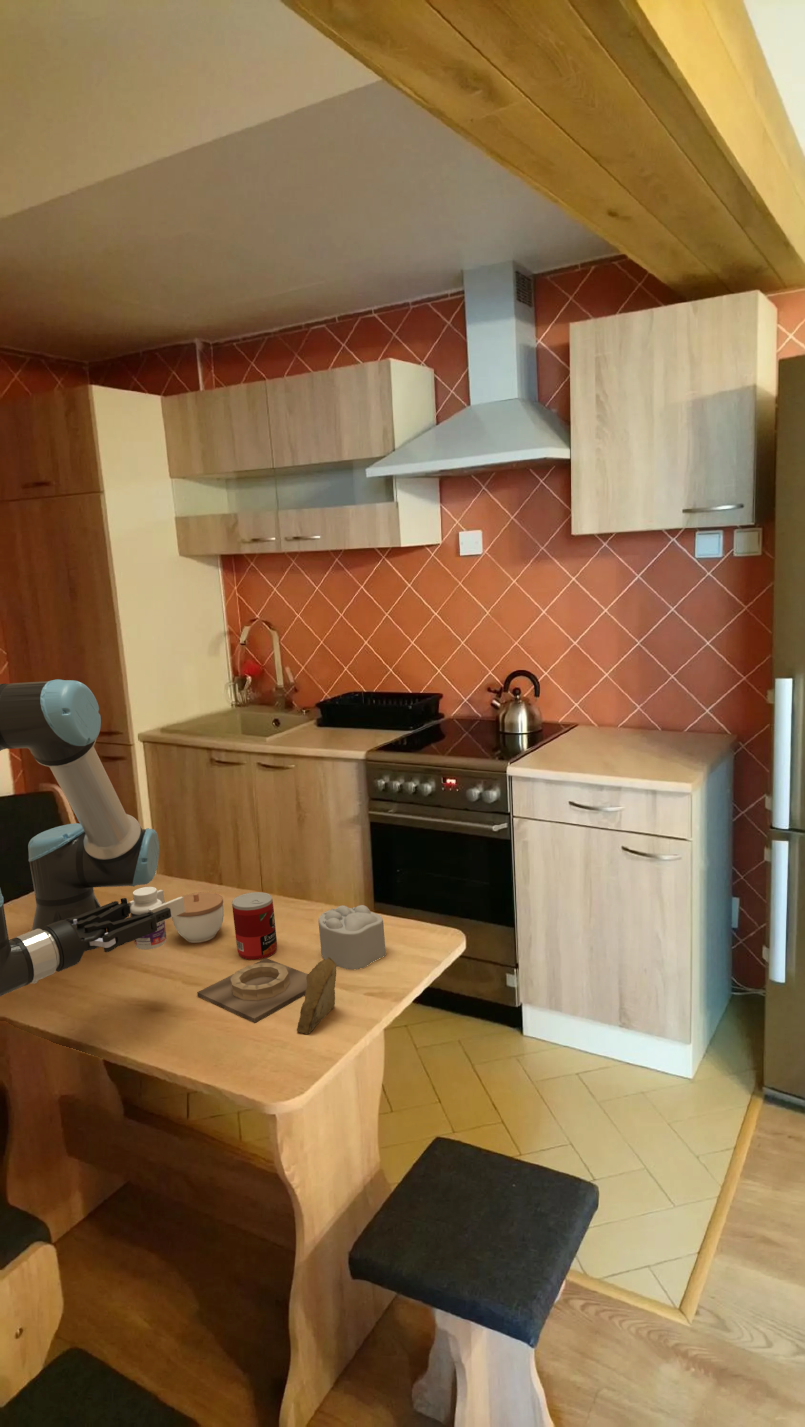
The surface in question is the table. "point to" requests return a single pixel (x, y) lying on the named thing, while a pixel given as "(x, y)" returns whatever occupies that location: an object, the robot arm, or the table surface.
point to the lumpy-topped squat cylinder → (351, 936)
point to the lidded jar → (200, 916)
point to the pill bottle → (143, 902)
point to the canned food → (254, 925)
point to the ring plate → (256, 1006)
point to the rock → (318, 995)
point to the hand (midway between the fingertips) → (172, 900)
